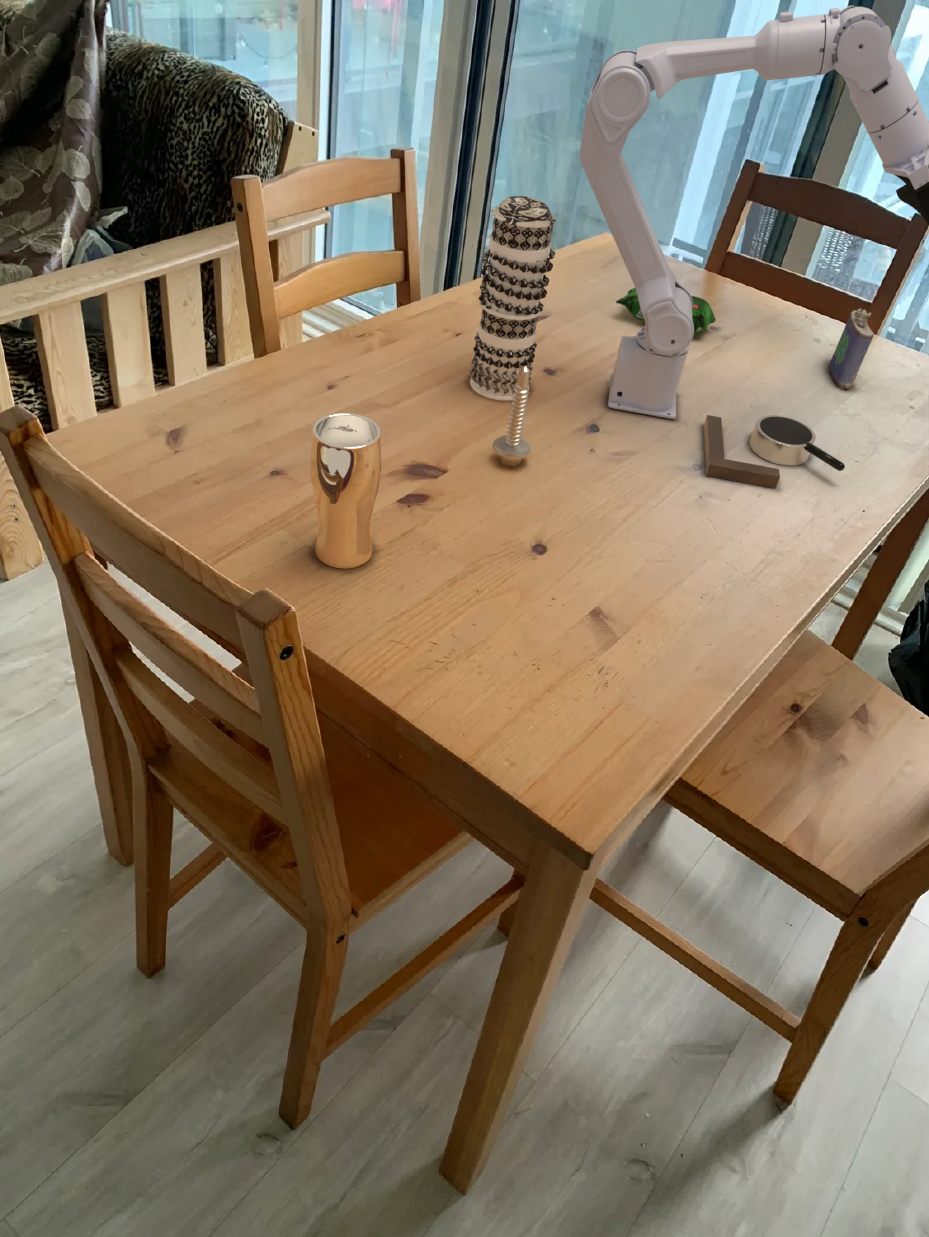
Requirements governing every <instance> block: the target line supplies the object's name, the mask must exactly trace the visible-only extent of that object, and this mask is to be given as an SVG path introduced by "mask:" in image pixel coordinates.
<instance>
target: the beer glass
mask: <svg viewBox="0 0 929 1237" xmlns="http://www.w3.org/2000/svg"><path fill="white" fill-rule="evenodd" d="M381 436H382V435H381V428H380V426H379V424H378V423H376V422H375V421H374V420H373V419H371V418H369V417H367V416H364V415H362V414H359V413H351V412H336V413H330V414H327V415H324V416H322V417H320V418H319V419H317V420H316V421H315V423H314V424H313V427H312V441H311V452H310V475H311V476H310V478H311V486H312V491H313V496H314V501H315V505H316V510H317V516H318V524H319V525H318V533H317V537H316V541H315V546H314V551H315V555H316V558H318V560H319V561H320V562H322V563H323V564H324V565H327V566H329V567H331V568H335V569H342V570H344V569H346V570H347V569H348V570H349V569H354V568H355V569H356V568H359V567H361V566H363V565H364V564H366V563H368V561H369V560H370V559H371V557H372V555H373V545H372V538H371V533H370V531H371V530H370V529H371V526H370V525H371V519H372V515H373V511H374V507H375V503H376V501H377V500H376V499H377V496H378V492H379V486H380V481H381V472H382V444H381V440H382V439H381Z"/></svg>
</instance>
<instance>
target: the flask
mask: <svg viewBox="0 0 929 1237" xmlns="http://www.w3.org/2000/svg"><path fill="white" fill-rule="evenodd" d="M871 315H872V312H869V313H867V310H866V309H862V308H858V309H855V310H852V311H851V312H850V313H849V315H848V318H847V321H846V323H845V325H844V328H843V331H842V333H841V336H840V338H839V341H838V342H837V345H836V347H835V350H834V352H833V354H832V356H831V358H830V360H829V363H828V365H827V369H828V374H830V377H831V379H832V381H833V383H834V384H835V385H836V386H837V387H838V388H839V389H842V390H850V389H852V388H853V385H854V382H855V380H856V378H857V376H858V374H859V371H860V368H861V365H862V364H863V361H864V358H865V357H866V356H865V355H866V354H867V352H868V350H869V347H870V345H871V343H872V340H873V338H874V336H875V333H874V332H873V331H872V329H871V327H870V326H869V324H868V320H869V318H870V317H871Z"/></svg>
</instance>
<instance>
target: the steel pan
mask: <svg viewBox="0 0 929 1237" xmlns="http://www.w3.org/2000/svg"><path fill="white" fill-rule="evenodd" d="M816 436H817V435H816V433H815V432H814V430H813V429H812V428H811V427H810V426H808V425H807V424H805V423H803V422H802V421H799V420H797V419H795V418H792V417H788V416H784V415H777V414H776V415H775V414H774V415H773V414H772V415H770V414H769V415H765V416H761V417H760V418H759V419H757V421H756V422H755V425H754V428H753V431H752V434H751V436H750V439H749V447H750V449H751V450H752V452H753V453H755V454H756V455H757V456H758V457H759V458H761V459H763V460H765V461H767V462H770V463H773V464H776V465H779V466H780V465H781V466H789V467H790V466H792V467H793V466H794V467H795V466H799V465H803V464H804V463H806V462H807V461H808V459H809V458H810V455H812V456H814V457H816V458H817V459H819V460H820V461H822V462H824V463H825V464H826V465H828V466H829V467H831V468H833V469H835V470H836V471H838V472H842V471H843V470H845V468H846V466H845V463H844V462H842V461H841V460H839V459H838V458H836V457H834V456H833V455H831V454H829V453H828V452H826V451H825V450H823V449H821V448H820V447H818V446H816V445H815V442H816V439H817V437H816Z"/></svg>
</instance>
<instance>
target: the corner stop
mask: <svg viewBox="0 0 929 1237" xmlns="http://www.w3.org/2000/svg"><path fill="white" fill-rule="evenodd" d="M722 421H723V420H722V417H721V416H716V415H711V414H706V417H705V420H704V424H703V441H704V442H703V444H704V464H705V477H711V478H716V479H720V480H721V479H722V480H727V481H732V482H736V483H737V482H738V483H743V484H748V485H754V486H759V487H765V488H771V489H777V486H778V484H779V481H780V479H781V475H780V474H781V473H780V468H777V467H772V466H767V465H759V464H755V463H748V462H744V461H738V460H733V459H727V458H725V445H724V434H723V422H722Z"/></svg>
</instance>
